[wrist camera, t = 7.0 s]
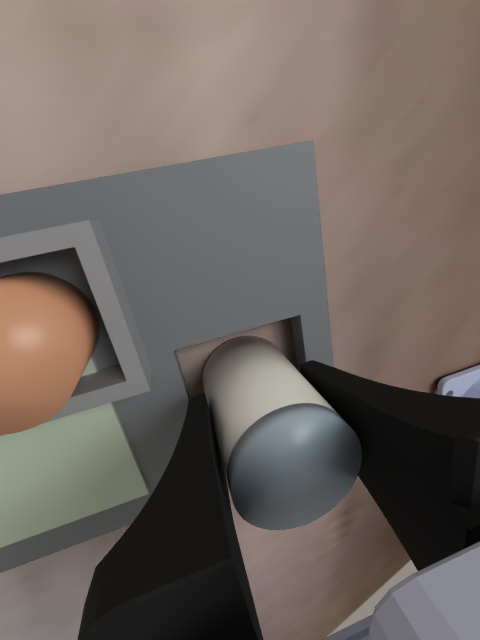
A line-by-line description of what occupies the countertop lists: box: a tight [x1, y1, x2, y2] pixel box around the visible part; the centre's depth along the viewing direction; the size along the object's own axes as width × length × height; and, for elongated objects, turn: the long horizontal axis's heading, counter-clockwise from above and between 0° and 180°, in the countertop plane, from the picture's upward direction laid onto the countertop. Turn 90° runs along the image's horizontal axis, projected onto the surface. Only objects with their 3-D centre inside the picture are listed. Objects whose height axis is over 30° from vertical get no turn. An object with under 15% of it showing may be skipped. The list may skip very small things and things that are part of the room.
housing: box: [0, 140, 334, 573], centre depth 11 cm, size 14×17×3 cm
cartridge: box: [202, 336, 362, 530], centre depth 11 cm, size 4×4×6 cm
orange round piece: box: [0, 272, 100, 435], centre depth 8 cm, size 4×4×3 cm
